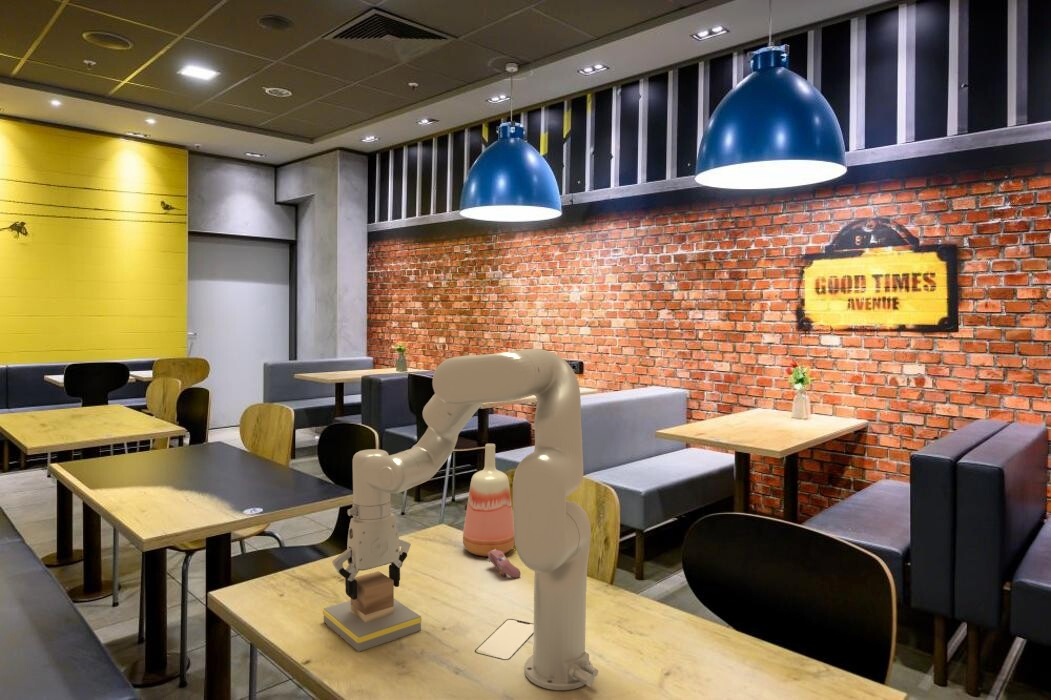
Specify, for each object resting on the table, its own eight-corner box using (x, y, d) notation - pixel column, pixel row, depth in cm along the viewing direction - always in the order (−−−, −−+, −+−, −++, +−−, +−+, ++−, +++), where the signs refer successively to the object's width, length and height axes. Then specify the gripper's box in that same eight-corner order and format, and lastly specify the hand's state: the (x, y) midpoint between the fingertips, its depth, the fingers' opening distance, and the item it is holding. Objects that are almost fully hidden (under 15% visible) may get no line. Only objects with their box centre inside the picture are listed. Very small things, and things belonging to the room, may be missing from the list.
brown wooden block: (393, 613, 142) (393, 580, 141) (365, 622, 138) (365, 588, 137) (378, 602, 147) (378, 571, 146) (350, 611, 143) (350, 578, 142)
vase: (482, 539, 197) (483, 437, 195) (524, 548, 190) (526, 443, 188) (452, 554, 185) (452, 446, 183) (496, 564, 177) (497, 452, 176)
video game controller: (492, 572, 176) (481, 550, 175) (507, 562, 178) (496, 540, 176) (508, 586, 167) (496, 563, 166) (523, 576, 169) (512, 553, 167)
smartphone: (508, 664, 129) (541, 627, 143) (508, 661, 129) (541, 625, 143) (471, 654, 132) (507, 620, 147) (471, 652, 132) (507, 617, 147)
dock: (421, 630, 141) (421, 616, 140) (358, 652, 131) (358, 637, 131) (383, 604, 153) (383, 591, 153) (322, 622, 144) (322, 608, 144)
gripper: (340, 522, 132) (342, 608, 133) (417, 506, 144) (418, 585, 144) (324, 514, 138) (326, 596, 139) (399, 499, 149) (400, 575, 150)
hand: (373, 591), depth 142 cm, fingers open, 9 cm apart
